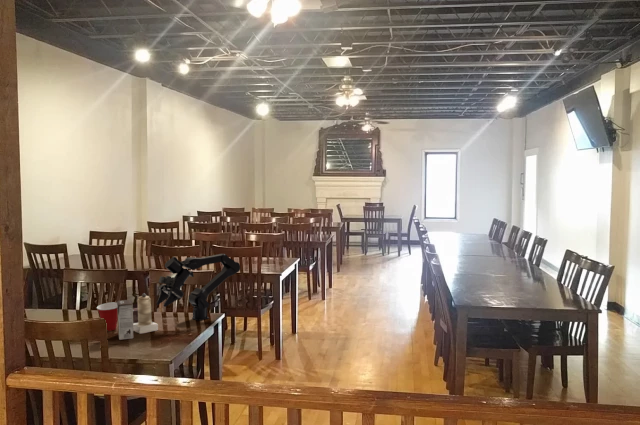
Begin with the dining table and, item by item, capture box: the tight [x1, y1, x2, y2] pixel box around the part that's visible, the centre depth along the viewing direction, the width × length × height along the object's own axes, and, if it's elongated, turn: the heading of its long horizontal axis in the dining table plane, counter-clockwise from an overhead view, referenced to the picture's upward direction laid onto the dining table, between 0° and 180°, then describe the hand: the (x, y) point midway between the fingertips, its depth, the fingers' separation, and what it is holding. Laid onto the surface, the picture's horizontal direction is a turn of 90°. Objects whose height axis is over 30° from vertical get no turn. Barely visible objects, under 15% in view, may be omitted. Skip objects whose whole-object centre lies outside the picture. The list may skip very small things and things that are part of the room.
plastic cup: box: [96, 302, 118, 332], centre depth 255 cm, size 11×11×12 cm
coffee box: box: [116, 299, 134, 341], centre depth 243 cm, size 9×6×16 cm
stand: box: [133, 320, 159, 334], centre depth 254 cm, size 9×9×3 cm
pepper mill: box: [137, 292, 153, 325], centre depth 254 cm, size 6×6×15 cm
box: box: [133, 307, 138, 323], centre depth 266 cm, size 6×6×7 cm
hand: (160, 305), depth 259 cm, fingers open, 9 cm apart
